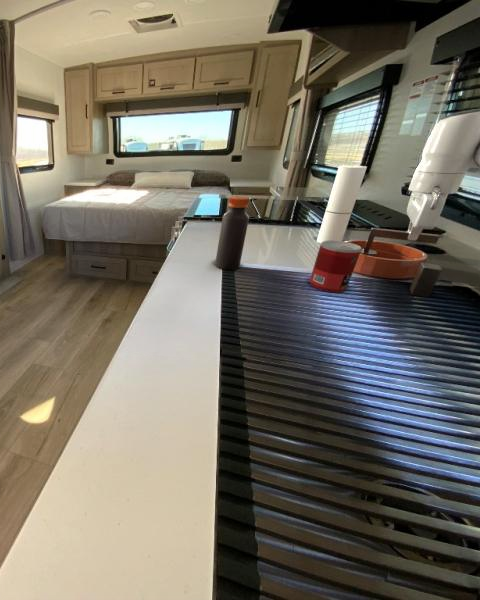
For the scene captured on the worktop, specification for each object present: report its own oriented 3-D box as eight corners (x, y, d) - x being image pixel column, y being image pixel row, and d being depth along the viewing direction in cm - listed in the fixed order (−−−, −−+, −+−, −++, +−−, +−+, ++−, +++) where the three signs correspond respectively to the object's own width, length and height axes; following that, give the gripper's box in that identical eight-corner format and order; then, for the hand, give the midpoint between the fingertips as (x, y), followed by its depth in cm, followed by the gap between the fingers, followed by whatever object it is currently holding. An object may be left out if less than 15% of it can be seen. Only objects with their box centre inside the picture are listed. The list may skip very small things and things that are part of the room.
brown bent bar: (422, 265, 91) (437, 233, 87) (424, 271, 87) (440, 238, 83) (351, 254, 100) (362, 225, 96) (351, 259, 96) (362, 229, 92)
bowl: (414, 264, 96) (422, 246, 94) (422, 286, 83) (432, 265, 81) (336, 253, 107) (341, 236, 104) (333, 271, 93) (339, 252, 91)
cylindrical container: (340, 240, 118) (365, 165, 107) (341, 246, 113) (368, 167, 101) (316, 238, 121) (338, 165, 110) (316, 243, 116) (339, 167, 105)
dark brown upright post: (426, 291, 81) (439, 264, 77) (428, 297, 78) (442, 270, 75) (409, 288, 82) (421, 262, 79) (411, 294, 79) (423, 267, 76)
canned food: (347, 295, 80) (363, 251, 75) (308, 288, 84) (321, 247, 79) (345, 283, 86) (360, 242, 81) (308, 278, 90) (320, 238, 85)
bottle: (241, 271, 96) (255, 200, 87) (216, 270, 97) (228, 200, 88) (236, 263, 101) (249, 195, 93) (213, 262, 103) (223, 195, 94)
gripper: (461, 190, 73) (433, 250, 80) (444, 180, 88) (422, 231, 94) (422, 188, 77) (398, 246, 83) (412, 178, 91) (392, 228, 97)
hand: (410, 238), depth 89 cm, fingers closed on brown bent bar
